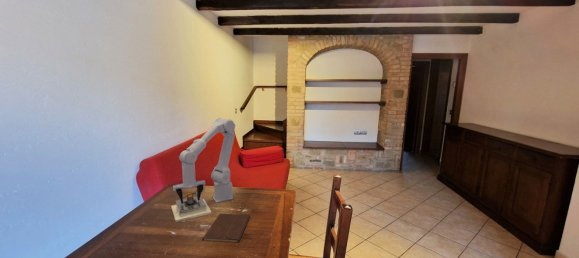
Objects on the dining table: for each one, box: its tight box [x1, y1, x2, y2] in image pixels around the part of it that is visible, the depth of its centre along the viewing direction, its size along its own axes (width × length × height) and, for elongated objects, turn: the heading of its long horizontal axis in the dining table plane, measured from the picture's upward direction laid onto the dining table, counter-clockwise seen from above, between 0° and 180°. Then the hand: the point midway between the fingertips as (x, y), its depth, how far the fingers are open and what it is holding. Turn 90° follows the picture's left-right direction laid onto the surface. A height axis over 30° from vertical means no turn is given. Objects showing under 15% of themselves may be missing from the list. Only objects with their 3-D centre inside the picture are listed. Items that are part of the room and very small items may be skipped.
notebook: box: [201, 213, 251, 243], centre depth 111 cm, size 15×20×2 cm
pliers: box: [176, 187, 206, 201], centre depth 143 cm, size 10×1×20 cm
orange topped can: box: [186, 191, 194, 205], centre depth 125 cm, size 3×3×8 cm
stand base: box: [171, 198, 212, 223], centre depth 126 cm, size 16×16×1 cm
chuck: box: [175, 196, 206, 217], centre depth 125 cm, size 12×12×3 cm
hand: (190, 201), depth 125 cm, fingers open, 7 cm apart
